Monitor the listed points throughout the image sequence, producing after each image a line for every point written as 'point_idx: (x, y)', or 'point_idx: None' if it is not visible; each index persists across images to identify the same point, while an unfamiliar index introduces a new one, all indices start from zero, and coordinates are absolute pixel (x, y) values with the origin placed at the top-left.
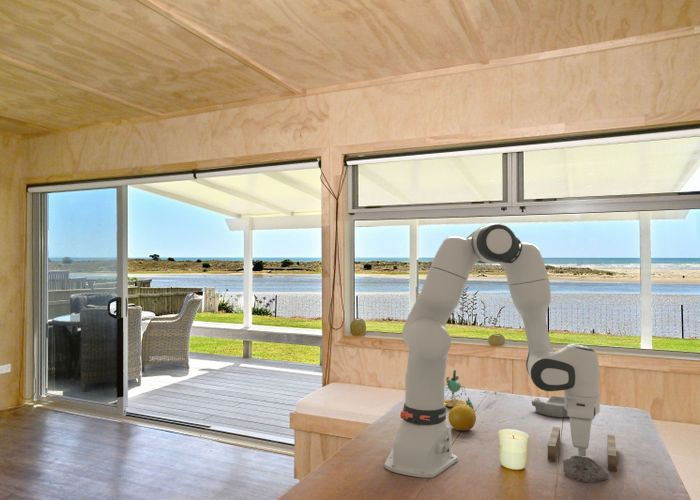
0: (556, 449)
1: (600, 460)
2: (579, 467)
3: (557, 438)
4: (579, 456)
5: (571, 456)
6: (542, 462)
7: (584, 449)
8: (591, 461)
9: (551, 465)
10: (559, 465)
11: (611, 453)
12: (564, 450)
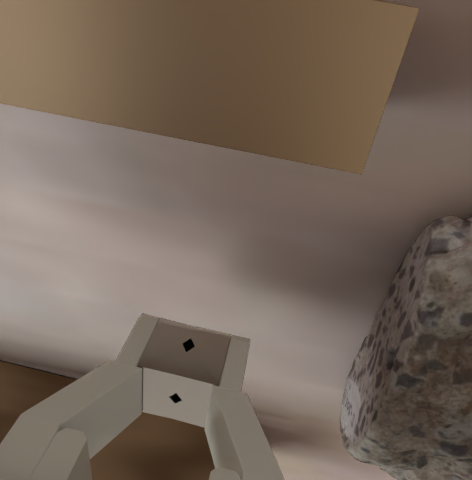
0: (141, 442)
1: (80, 127)
2: None
3: None
4: (399, 442)
5: (357, 459)
6: (298, 473)
7: (250, 409)
8: (458, 345)
9: (336, 452)
10: (324, 420)
11: (268, 90)
12: (20, 339)
